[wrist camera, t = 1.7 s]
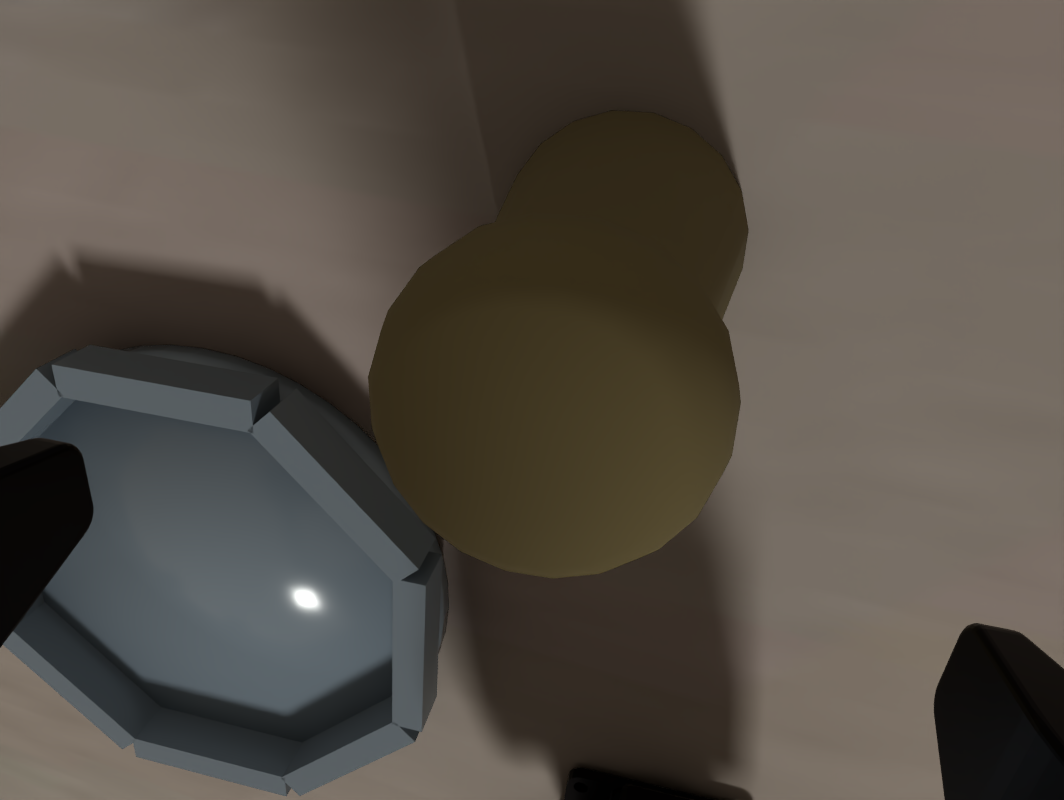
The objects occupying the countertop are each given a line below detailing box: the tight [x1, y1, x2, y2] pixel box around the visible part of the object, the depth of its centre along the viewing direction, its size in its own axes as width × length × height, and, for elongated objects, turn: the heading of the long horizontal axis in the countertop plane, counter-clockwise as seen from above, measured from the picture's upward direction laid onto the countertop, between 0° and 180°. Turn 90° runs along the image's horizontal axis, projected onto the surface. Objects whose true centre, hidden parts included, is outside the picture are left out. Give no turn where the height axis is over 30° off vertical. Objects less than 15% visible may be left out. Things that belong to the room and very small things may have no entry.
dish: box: [0, 345, 449, 796], centre depth 26 cm, size 16×16×2 cm
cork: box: [368, 110, 748, 578], centre depth 14 cm, size 6×6×11 cm
